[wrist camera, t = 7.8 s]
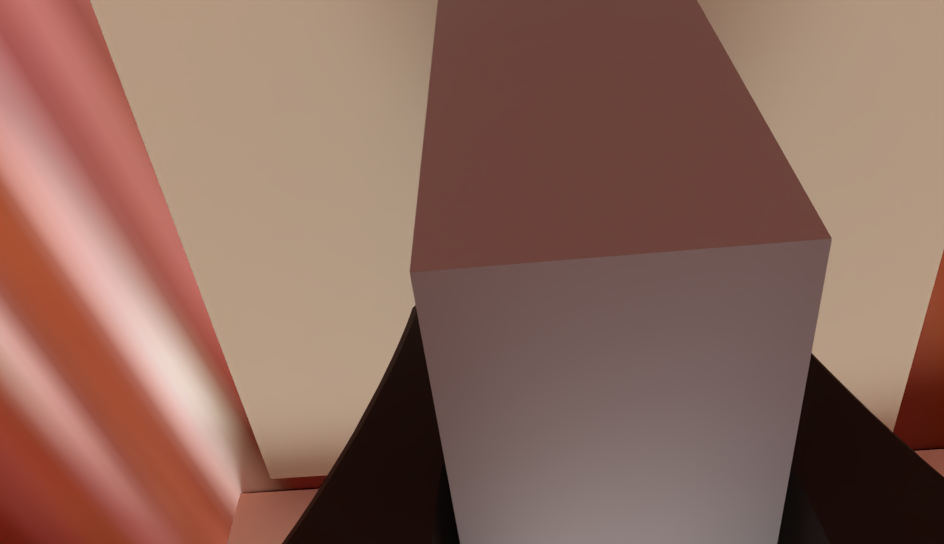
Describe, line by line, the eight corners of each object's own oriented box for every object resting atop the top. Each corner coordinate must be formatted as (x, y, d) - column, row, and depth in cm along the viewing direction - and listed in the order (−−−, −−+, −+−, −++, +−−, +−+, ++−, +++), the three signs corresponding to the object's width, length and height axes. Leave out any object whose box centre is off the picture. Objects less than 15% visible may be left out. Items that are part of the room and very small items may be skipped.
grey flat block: (646, -89, 11) (830, 239, 5) (638, 377, 15) (730, 808, 10) (444, -68, 11) (409, 272, 5) (499, 388, 16) (511, 816, 10)
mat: (1078, -330, 10) (1104, -328, 9) (881, 418, 17) (891, 438, 16) (33, -203, 10) (16, -196, 10) (275, 459, 18) (270, 479, 17)
